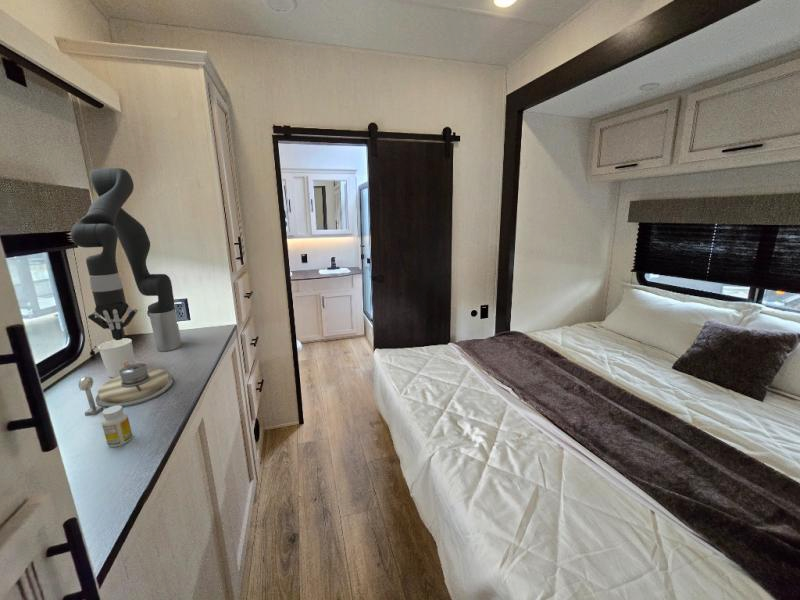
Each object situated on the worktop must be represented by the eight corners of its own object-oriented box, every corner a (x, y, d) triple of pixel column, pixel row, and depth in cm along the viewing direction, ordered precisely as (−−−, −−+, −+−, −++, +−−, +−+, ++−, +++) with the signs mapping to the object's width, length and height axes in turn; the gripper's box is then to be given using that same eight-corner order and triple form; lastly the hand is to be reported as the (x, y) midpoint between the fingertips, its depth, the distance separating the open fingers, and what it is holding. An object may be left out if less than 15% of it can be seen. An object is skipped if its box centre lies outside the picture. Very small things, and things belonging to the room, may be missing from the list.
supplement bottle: (110, 450, 88) (101, 418, 86) (105, 441, 92) (96, 410, 89) (135, 439, 92) (127, 408, 90) (130, 431, 95) (122, 401, 93)
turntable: (95, 388, 116) (90, 370, 114) (160, 368, 130) (157, 352, 128) (104, 410, 103) (99, 391, 102) (176, 386, 117) (172, 368, 115)
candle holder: (120, 379, 124) (112, 349, 121) (98, 377, 126) (90, 347, 123) (144, 367, 133) (138, 339, 130) (124, 365, 135) (117, 337, 132)
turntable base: (124, 377, 126) (123, 375, 126) (184, 374, 128) (183, 371, 128) (78, 410, 106) (78, 407, 105) (150, 405, 108) (150, 403, 107)
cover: (119, 382, 116) (116, 368, 115) (147, 373, 121) (144, 360, 120) (123, 390, 111) (120, 376, 109) (152, 381, 116) (149, 367, 115)
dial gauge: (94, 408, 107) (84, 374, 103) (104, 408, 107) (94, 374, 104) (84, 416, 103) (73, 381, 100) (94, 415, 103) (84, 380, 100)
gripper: (136, 284, 114) (146, 333, 118) (87, 287, 109) (99, 338, 114) (128, 288, 107) (139, 340, 111) (75, 292, 103) (89, 346, 107)
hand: (119, 339), depth 113 cm, fingers closed
